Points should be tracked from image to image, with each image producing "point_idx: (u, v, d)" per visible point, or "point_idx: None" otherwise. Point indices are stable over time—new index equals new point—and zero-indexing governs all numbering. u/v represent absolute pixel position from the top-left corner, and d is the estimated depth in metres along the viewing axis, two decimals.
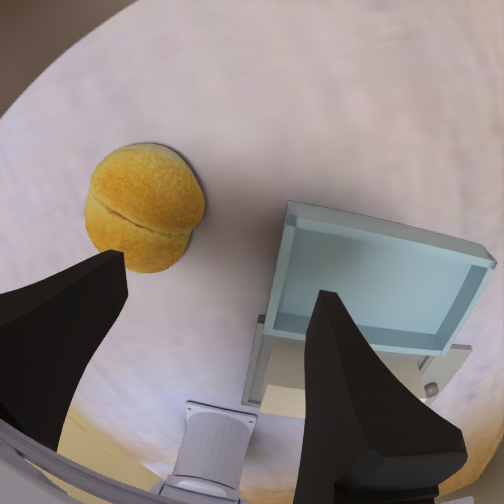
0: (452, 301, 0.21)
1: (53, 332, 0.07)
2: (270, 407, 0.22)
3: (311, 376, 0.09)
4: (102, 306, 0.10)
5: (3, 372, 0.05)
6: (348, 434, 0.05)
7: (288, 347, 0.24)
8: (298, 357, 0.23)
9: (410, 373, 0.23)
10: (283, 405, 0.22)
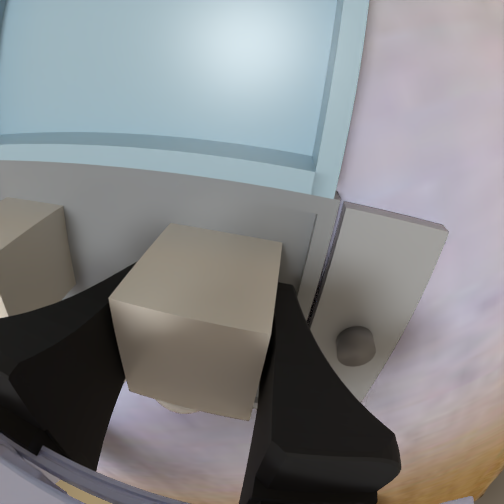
0: (325, 47, 0.08)
1: (97, 349, 0.07)
2: None
3: (263, 368, 0.09)
4: None
5: (49, 398, 0.05)
6: (266, 426, 0.05)
7: (16, 203, 0.11)
8: (14, 213, 0.10)
9: (244, 264, 0.09)
10: None
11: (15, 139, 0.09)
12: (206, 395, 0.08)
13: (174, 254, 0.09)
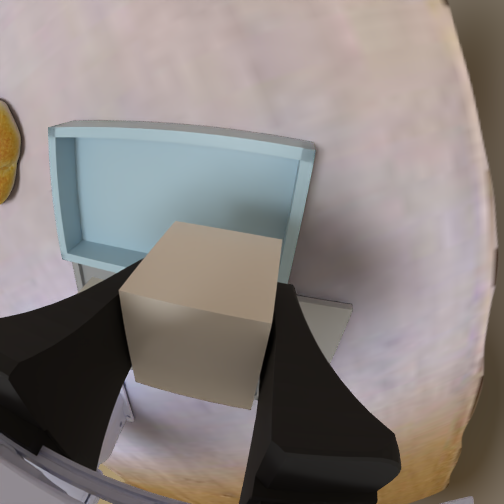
0: (284, 226, 0.18)
1: (97, 348, 0.07)
2: None
3: (263, 368, 0.09)
4: None
5: (49, 398, 0.05)
6: (266, 426, 0.05)
7: None
8: None
9: (246, 259, 0.10)
10: None
11: (108, 255, 0.19)
12: (210, 384, 0.09)
13: (180, 249, 0.10)
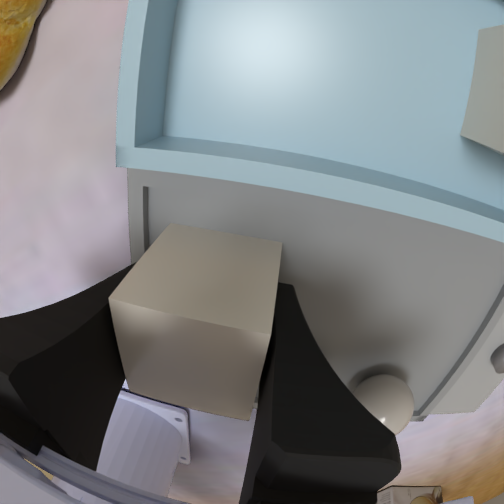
0: None
1: (97, 349, 0.07)
2: (145, 379, 0.09)
3: None
4: None
5: (49, 398, 0.05)
6: (266, 426, 0.05)
7: (201, 234, 0.11)
8: (220, 252, 0.10)
9: None
10: (173, 376, 0.08)
11: (249, 153, 0.08)
12: None
13: None
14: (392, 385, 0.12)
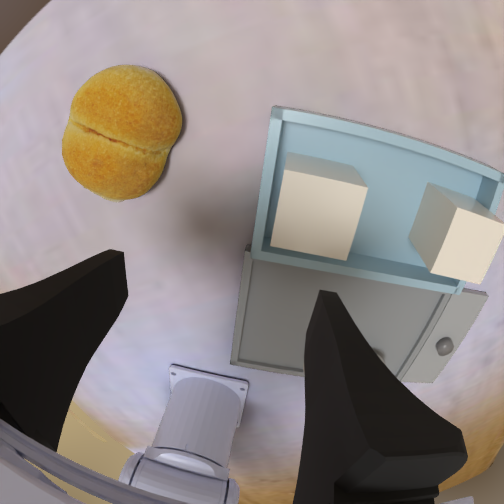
0: None
1: (53, 332, 0.07)
2: (287, 230, 0.15)
3: (311, 375, 0.09)
4: (102, 306, 0.10)
5: (3, 372, 0.05)
6: (348, 434, 0.05)
7: (309, 157, 0.17)
8: (325, 163, 0.17)
9: (474, 203, 0.16)
10: (309, 223, 0.15)
11: None
12: (471, 265, 0.15)
13: (450, 195, 0.16)
14: None
